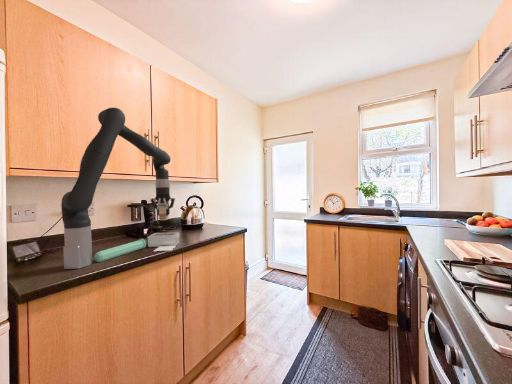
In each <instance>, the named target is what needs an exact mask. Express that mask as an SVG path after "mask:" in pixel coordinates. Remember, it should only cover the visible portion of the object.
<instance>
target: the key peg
mask: <svg viewBox="0 0 512 384" xmlns="http://www.w3.org/2000/svg"><path fill="white" fill-rule="evenodd" d="M158 218H159V221H167V220H169V215H168V216H167V215H166V205H165V203H160V205H159V217H158Z"/></svg>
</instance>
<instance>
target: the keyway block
mask: <svg viewBox="0 0 512 384" xmlns="http://www.w3.org/2000/svg"><path fill="white" fill-rule="evenodd" d="M179 243H180V231H179V232H177V231H176V232H154V233H152V234H150V235H149V236H147V248H158V247H159V246H176V245H178V244H179Z"/></svg>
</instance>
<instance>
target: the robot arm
mask: <svg viewBox="0 0 512 384" xmlns="http://www.w3.org/2000/svg"><path fill="white" fill-rule="evenodd" d="M97 120H98V122H99V123H100V124H101V125H100V128H99V130H98V132H97V134H96V135H95V136H94V137H93V138H92V140H91V141H89V143H88V145H87V147H86V148H85V151H84V153H83V155H82V157H81V160H80V164H79V165H80V166H79V174H78V177H77V180H76V181H75V184H74V185H73V186H72V189H71V191H68V192H66V193H64V195H63V196H62V198H61V215H62V217H61V218H62V223H63V233H64V235H63V236H64V246H63V247H62V248H63V249H62V251H63V254H62V255H63V269H64V270H74V269H75V270H77V269H81V268H85V267H88V266H90V265H92V264H93V246H92V242H93V241H92V240H93V239H92V221H91V220H92V219H91V218H90V215H89V208H90V207H91V206H92V203H93V200H94V196H95V193H96V189H97V186H98V183H99V181H100V179H101V177H102V175H103V173H104V171H105V168H106V166H107V164H108V161H109V159H110V155H111V154H112V151H113V149H114V146H115V142H116V141H117V138H118V136H119V137H121V138H123V139H124V140H126V141H127V142H129V143H130V144H131V145H133V146H134V147H135V148H137V149H138V150H139V151H141V152H142V153H144V154H145V155H146V156H148V157H151V158H152V164H153V168H154V171H155V197H154V198H151V199H150V202H151V205H152V207H153V209H156V210H157V212H156V213H157V216H159V205H160V203H165V205H166V215H167V216H168V217H169V215H170V211H171V210H170V209H172V208H173V207H174V204H175V200H176V197H171V194H170V193H171V192H170V186H171V185H170V179H169V175H170V174H169V170H168V169H166V167H165V165H169V164H170V162H171V156H170V154H168V153H167V152H166V151H165V150H164V149H161V148H159V147H157V146H155V144H154V143H152V142H151V141H150V140H149V139H148V138H146V137H145V136H143V135H141V134H140V133H137V132H135V131H134V130H132V129H131V128H130V127H127V126H126V125H125V123H126V115H125V113H124V112H123V111H122V110H121V109H120V108H118V107H108V108H105V109H104V110H101V111H100V112H99V113H98V115H97ZM169 201H170V202H169ZM156 202H157V203H156Z"/></svg>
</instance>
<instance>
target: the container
mask: <svg viewBox="0 0 512 384" xmlns="http://www.w3.org/2000/svg"><path fill="white" fill-rule="evenodd" d="M146 247H147V243H146V240H145V239H144V238H139V239H138V240H135V241H131V242H128V243H124V244H121V245H117V246H114V247H111V248H110V247H109V248H106V249H103V250H100V251H97V252H96V253H95V254H94V261H95V262H96V263H102V262H106V261H107V260H111V259H114V258H117V257H121V256H124V255H127V254H130V253H133V252H136V251H138V250H141V249H142V250H143V249H145V248H146Z"/></svg>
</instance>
